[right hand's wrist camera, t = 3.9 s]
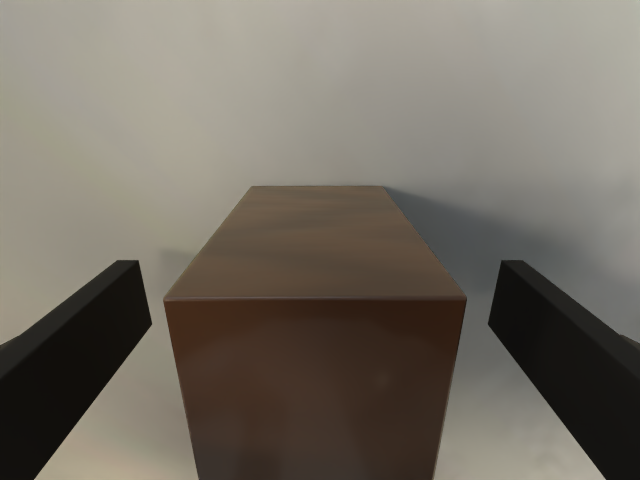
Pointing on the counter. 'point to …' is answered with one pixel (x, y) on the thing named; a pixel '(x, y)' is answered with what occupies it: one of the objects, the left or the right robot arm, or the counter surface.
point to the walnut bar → (315, 340)
